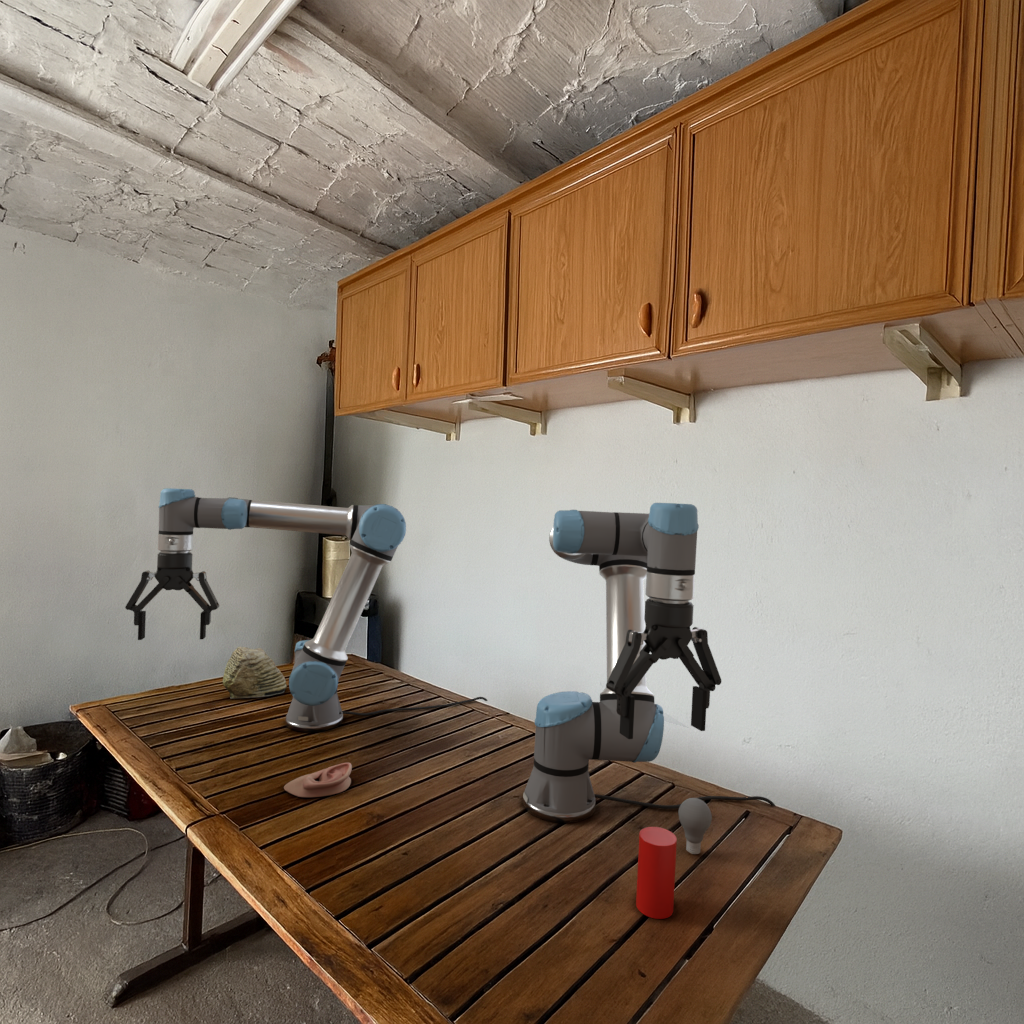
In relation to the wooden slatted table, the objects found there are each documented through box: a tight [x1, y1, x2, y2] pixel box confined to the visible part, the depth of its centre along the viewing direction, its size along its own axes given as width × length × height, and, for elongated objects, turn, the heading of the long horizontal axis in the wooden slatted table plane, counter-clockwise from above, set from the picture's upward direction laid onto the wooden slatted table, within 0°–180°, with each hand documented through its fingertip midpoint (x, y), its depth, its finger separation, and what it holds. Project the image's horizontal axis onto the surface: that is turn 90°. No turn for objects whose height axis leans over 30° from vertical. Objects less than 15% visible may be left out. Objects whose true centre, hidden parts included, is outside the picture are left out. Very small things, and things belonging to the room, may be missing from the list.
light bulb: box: [677, 797, 713, 855], centre depth 118 cm, size 6×6×10 cm
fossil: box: [222, 646, 288, 699], centre depth 198 cm, size 9×18×15 cm, turn 132°
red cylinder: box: [635, 826, 678, 920], centre depth 102 cm, size 6×6×12 cm
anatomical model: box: [283, 762, 353, 798], centre depth 138 cm, size 13×4×12 cm
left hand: (172, 638), depth 155 cm, fingers open, 13 cm apart
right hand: (662, 732), depth 101 cm, fingers open, 13 cm apart
